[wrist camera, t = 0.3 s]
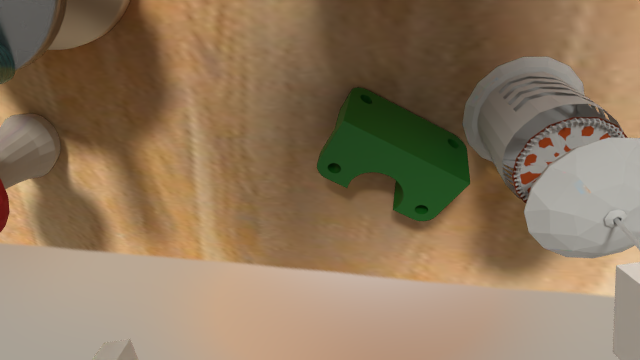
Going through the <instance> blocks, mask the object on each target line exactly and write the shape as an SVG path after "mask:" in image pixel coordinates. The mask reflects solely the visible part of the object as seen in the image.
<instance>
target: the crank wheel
mask: <svg viewBox="0 0 640 360" xmlns="http://www.w3.org/2000/svg"><path fill="white" fill-rule="evenodd" d="M66 6H67V0H0V84H2V83H4V82H7V81H9V80H11V79H12V78H13V76H14V74H15V71H16V70H19V69H21V68H23V67H25V66H27V65H29V64H31V63H33V62H34V61H35V60H37V59H38V58H39V57H40V56H42V55H43V54H44V53H45V51H46V50H47V49H48V48H49V47H50V46H51V45H52V43H53V41H54V40H55V38H56V36H57V34H58V33H59V30H60V28H61V25H62V22H63V20H64V16H65V11H66Z"/></svg>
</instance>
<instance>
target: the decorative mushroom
mask: <svg viewBox="0 0 640 360" xmlns="http://www.w3.org/2000/svg"><path fill="white" fill-rule="evenodd" d="M59 154H60V140H59V136H58V134H57V132H56V130H55V128H54V127H53V126H52V124H51V123H50V122H49V121H48V120H46V119H45V118H43V117H42V116H40V115H36V114H32V113H31V114H19V115H12V116H10V117H9V118H7V119H5V121H4V122H3V124H2V125H1V127H0V232H1V231H2V230H3V228H4V227H5V225H6V222H7V219H8V215H9V201H8V195H7V193H6V190H5V189H7V188H8V187H11V186H13V185H15V184H17V183H19V182H22V181H24V180H27V179H31V178H37V177H42V176H44V175H45V174H47V173H48V172H49V171H50V170H51V169H52V168H53V166H54V164H55V163H56V161H57V159H58V157H59Z"/></svg>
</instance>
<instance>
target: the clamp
mask: <svg viewBox="0 0 640 360" xmlns="http://www.w3.org/2000/svg"><path fill="white" fill-rule="evenodd" d="M317 169H318V171H319V173H320V174H321V175H322V176H323V177H325V178H327V179H329V180H331V181H333V182H335V183H337V184H339V185H341V186H344V187H346V188H347V187H348V184H349V183H350V181H351V180H352V179H353V178H354V177H356V176H358V175H360V174H363V173H368V172H377V173H382V174H386V175H388V176H390V177H392V178H394V179H395V180H396V183H395V193H394V204H393V210H395V211H397V212H399V213H401V214H403V215H405V216H407V217H409V218H412V219H414V220H417V221H427V220H431V219H433V218H434V217H436V216H437V215H438V214H439V213H440V212H441V211H442V210H443V209H444V208H445V207H446V206H447V205H448V204H449V203H450V202H451V201H452V200H453V199H455V198H456V197H457V196H458V195H459V194H460V193H461V192H462V191H463V190H464V189H465V188H466V187H467V186H468V185H469V184H470V176H469V166H468V155H467V148H466V146H465V144H464V143H463V142H462V141H461V140H460V139H459V138H458V137H457V136H456V135H454V134H452V133H450V132H448V131H446V130H444V129H442V128H440V127H438V126H437V125H435V124H433V123H431V122H429V121H427V120H425V119H423V118H421V117H419V116H417V115H415V114H413V113H411V112H409V111H407V110H405V109H403V108H402V107H400V106H398V105H396V104H394V103H392V102H390V101H388V100H386V99H384V98H382V97H380V96H378V95H376V94H374V93H372V92H370V91H368V90H366V89H364V88H359V87H357V88H353V89H352V91H351V92H350V94H349V96H348V97H347V99H346V101H345V102H344V104H343V106H342V107H341V109H340V112H339V115H338V119H337V122H336V126H335V129H334V131H333V133H332V134H331V136H330V137H329V139H328V141H327V142H326V144H325V146H324V147H323V149H322V151H321V153H320V156H319V160H318V163H317Z"/></svg>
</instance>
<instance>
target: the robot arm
mask: <svg viewBox="0 0 640 360" xmlns="http://www.w3.org/2000/svg"><path fill="white" fill-rule="evenodd" d="M613 353H614V354H615V355H616V356H617V357H618V358H619V359H620V360H640V262H636V263H629V264H623V265H616V281H615V307H614V333H613ZM92 360H138V358H137V355H136V353H135V351H134V348H133V345H132V343H131V340H130V339H127V340H120V341H114V342H107V343H104V344H103V345H102V347H101V348H100V349H99V351H98V352H97V353H96V355H95V356H94V358H93V359H92Z"/></svg>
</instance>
